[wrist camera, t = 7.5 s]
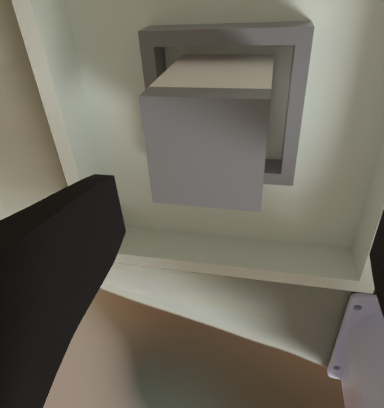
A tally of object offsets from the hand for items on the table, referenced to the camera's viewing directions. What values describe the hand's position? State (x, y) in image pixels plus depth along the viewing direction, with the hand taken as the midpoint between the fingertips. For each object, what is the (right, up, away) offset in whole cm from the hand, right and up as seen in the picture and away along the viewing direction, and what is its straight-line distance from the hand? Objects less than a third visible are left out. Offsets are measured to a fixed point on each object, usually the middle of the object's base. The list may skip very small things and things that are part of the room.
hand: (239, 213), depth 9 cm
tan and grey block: (0, +5, +7) cm, 9 cm away
